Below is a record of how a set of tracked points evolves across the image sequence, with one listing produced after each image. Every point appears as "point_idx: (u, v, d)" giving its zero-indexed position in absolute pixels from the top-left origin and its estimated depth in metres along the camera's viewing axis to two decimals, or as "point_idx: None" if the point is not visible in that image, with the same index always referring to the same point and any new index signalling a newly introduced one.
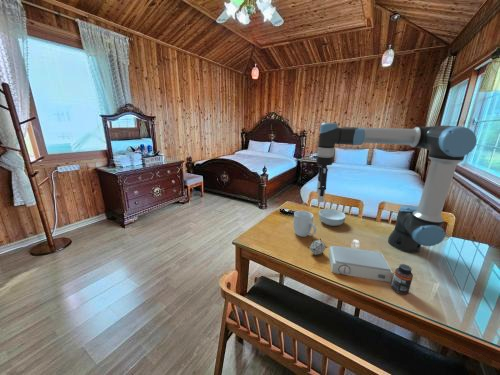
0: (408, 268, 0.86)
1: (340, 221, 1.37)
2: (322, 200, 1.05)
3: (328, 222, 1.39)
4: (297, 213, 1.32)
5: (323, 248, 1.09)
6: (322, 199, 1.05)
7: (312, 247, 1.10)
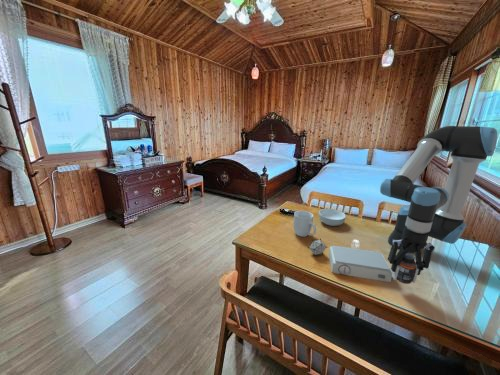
0: (411, 257, 0.84)
1: (340, 221, 1.37)
2: (393, 276, 0.88)
3: (328, 222, 1.39)
4: (297, 213, 1.32)
5: (323, 248, 1.09)
6: (394, 275, 0.88)
7: (312, 247, 1.10)
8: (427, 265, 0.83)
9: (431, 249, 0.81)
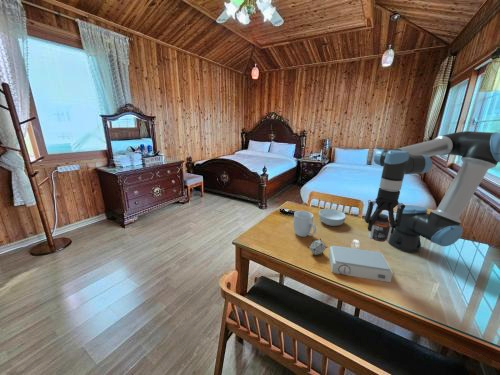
0: (385, 216, 0.92)
1: (340, 221, 1.37)
2: (370, 236, 0.96)
3: (328, 222, 1.39)
4: (297, 213, 1.32)
5: (323, 248, 1.09)
6: (370, 235, 0.96)
7: (312, 247, 1.10)
8: (399, 223, 0.91)
9: (402, 207, 0.89)
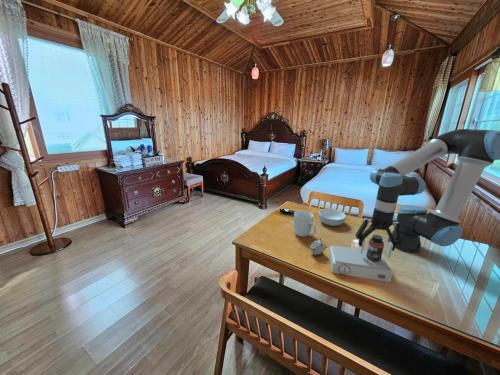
0: (380, 237, 0.96)
1: (340, 221, 1.37)
2: (360, 251, 0.99)
3: (328, 222, 1.39)
4: (297, 213, 1.32)
5: (323, 248, 1.09)
6: (360, 250, 0.99)
7: (312, 247, 1.10)
8: (399, 241, 0.94)
9: (398, 226, 0.92)
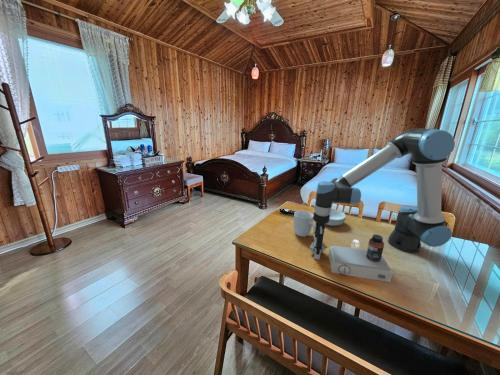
0: (380, 237, 0.96)
1: (340, 221, 1.37)
2: (318, 257, 1.08)
3: (328, 222, 1.39)
4: (297, 213, 1.32)
5: (323, 248, 1.09)
6: (318, 256, 1.07)
7: (312, 247, 1.10)
8: None
9: None
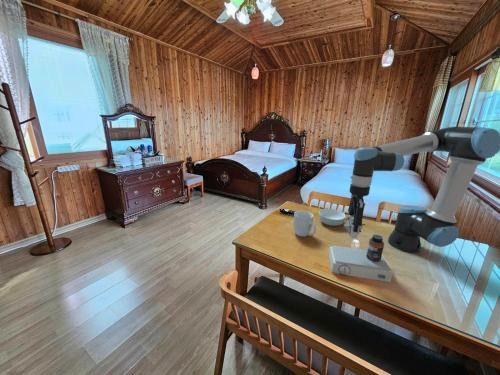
0: (380, 237, 0.96)
1: (340, 221, 1.37)
2: (355, 236, 0.94)
3: (328, 222, 1.39)
4: (297, 213, 1.32)
5: None
6: (355, 235, 0.94)
7: (348, 225, 0.96)
8: None
9: None
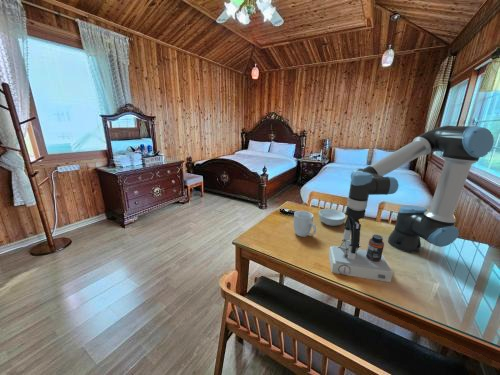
0: (380, 237, 0.96)
1: (340, 221, 1.37)
2: (353, 257, 0.94)
3: (328, 222, 1.39)
4: (297, 213, 1.32)
5: None
6: (353, 256, 0.94)
7: (344, 247, 1.00)
8: None
9: None
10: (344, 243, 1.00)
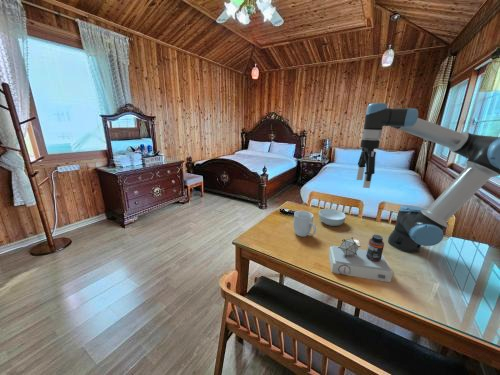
0: (380, 237, 0.96)
1: (340, 221, 1.37)
2: (368, 185, 1.00)
3: (328, 222, 1.39)
4: (297, 213, 1.32)
5: (356, 248, 0.99)
6: (368, 184, 0.99)
7: (344, 247, 1.00)
8: None
9: None
10: (344, 243, 1.00)
